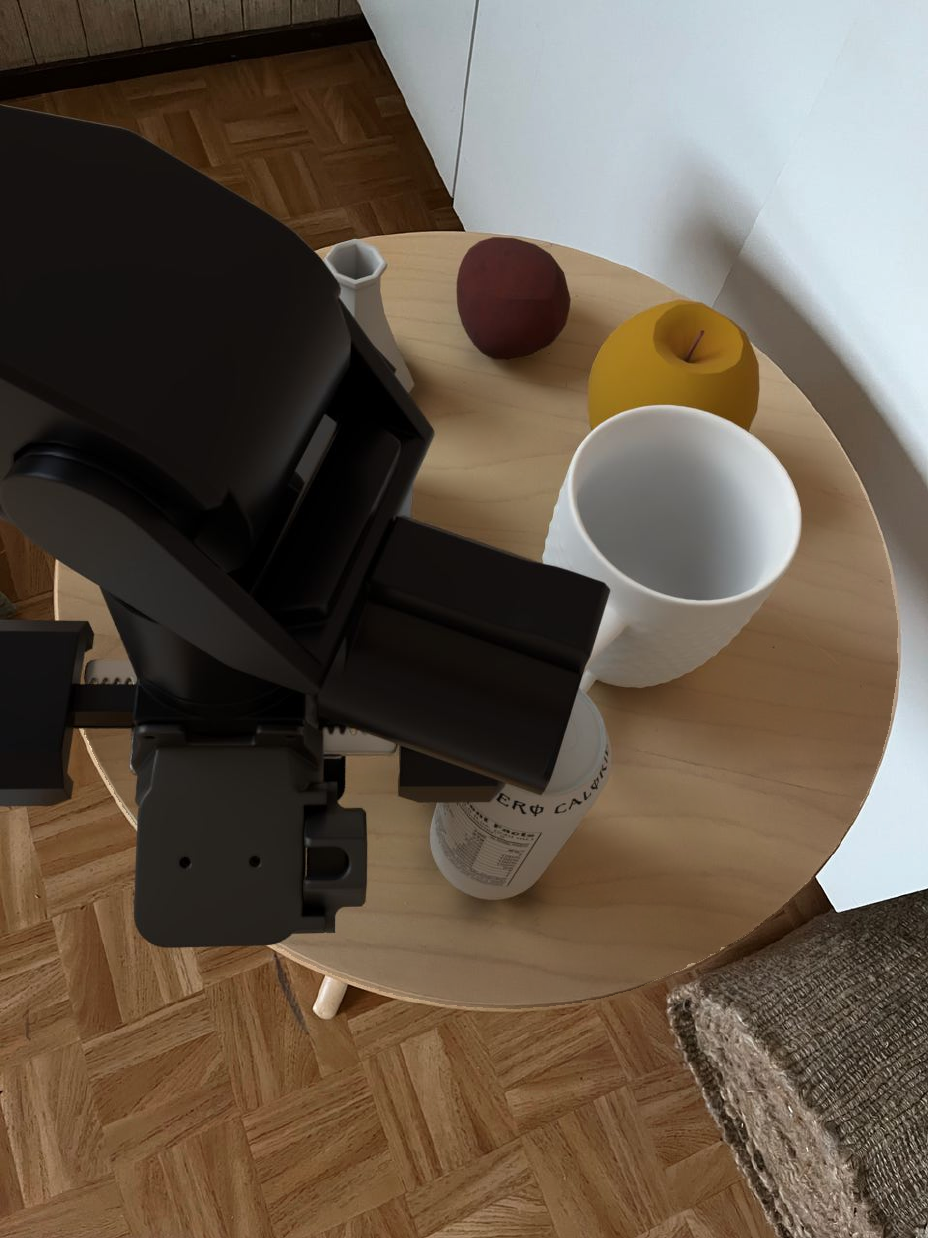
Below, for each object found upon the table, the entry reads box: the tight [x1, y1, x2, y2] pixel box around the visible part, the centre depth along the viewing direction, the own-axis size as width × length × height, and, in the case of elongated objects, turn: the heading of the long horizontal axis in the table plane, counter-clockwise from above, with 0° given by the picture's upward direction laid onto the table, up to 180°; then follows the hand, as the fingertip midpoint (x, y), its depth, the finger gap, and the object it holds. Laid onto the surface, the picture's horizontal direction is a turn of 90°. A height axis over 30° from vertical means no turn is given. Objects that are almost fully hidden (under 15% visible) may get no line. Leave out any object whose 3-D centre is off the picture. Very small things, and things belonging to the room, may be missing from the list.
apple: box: [587, 299, 760, 432], centre depth 58 cm, size 10×10×12 cm
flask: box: [323, 238, 415, 395], centre depth 59 cm, size 7×7×10 cm
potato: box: [455, 236, 572, 361], centre depth 64 cm, size 7×8×6 cm
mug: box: [541, 405, 803, 694], centre depth 51 cm, size 15×11×13 cm
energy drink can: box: [429, 688, 612, 901], centre depth 44 cm, size 6×6×15 cm
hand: (258, 787), depth 43 cm, fingers closed
